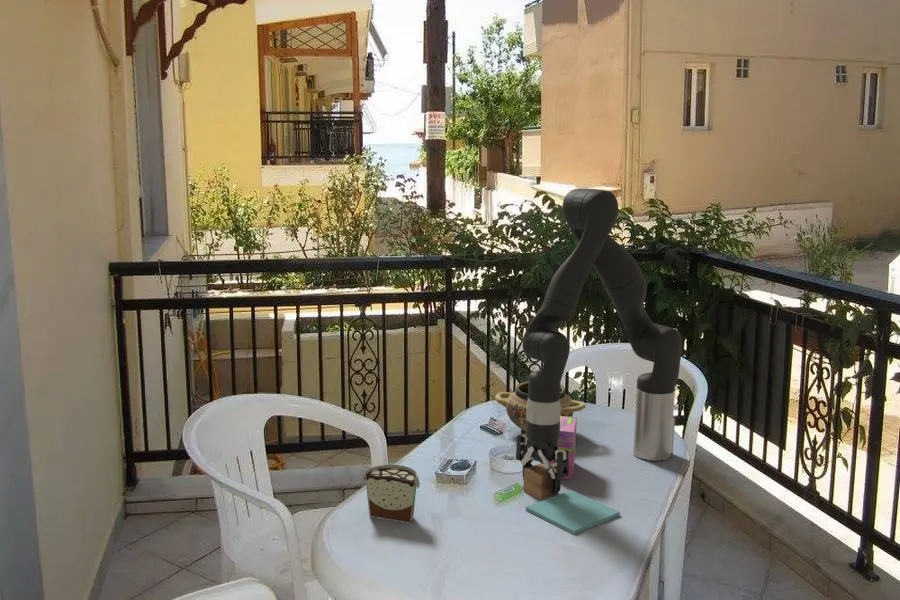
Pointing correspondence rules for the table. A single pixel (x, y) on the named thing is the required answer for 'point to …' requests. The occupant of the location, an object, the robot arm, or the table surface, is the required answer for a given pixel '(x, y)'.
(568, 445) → the box
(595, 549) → the table surface
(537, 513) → the mat
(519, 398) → the ceramic bowl
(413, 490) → the food container
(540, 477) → the cube
